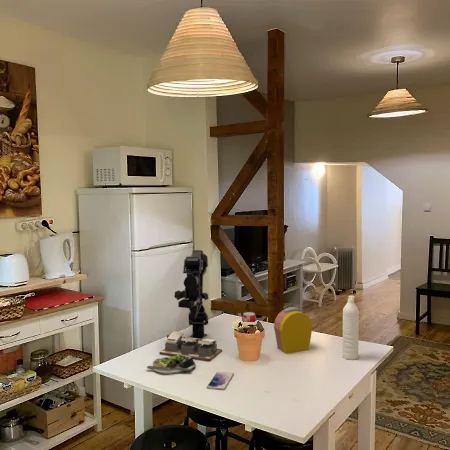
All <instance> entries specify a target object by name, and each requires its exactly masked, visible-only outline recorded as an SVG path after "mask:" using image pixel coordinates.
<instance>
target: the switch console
mask: <svg viewBox="0 0 450 450" xmlns="http://www.w3.org/2000/svg"><path fill="white" fill-rule="evenodd" d="M169 336H170V334H167V335H166V339H167V338H168V337H169ZM181 338H186V337H185V336H182V337H180V339H179V341H178V342H177V343H176V344H172V343H165V342H164V349H163V350H161V351H158V352H159V353H158V354H159V355H162V356H166V357H172V356H177V355H186V356H190V357H191V358H193V361H195V360H196V361H201V362H202V361H203V362H211V361H213V360H214V359H215V358H216V357H218V356H219V355H221V353H222V352H223V349H222V348H218V346H217V345H218V344H216V343H217V341H213V344H209V345H207V344H199V343H198V341H200V340H203V338H202V339H200V340H199V339H196V341H194V342H190V341H182V340H181Z"/></svg>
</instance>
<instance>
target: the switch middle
mask: <svg viewBox="0 0 450 450" xmlns="http://www.w3.org/2000/svg"><path fill="white" fill-rule="evenodd" d="M196 339H199V338H191V337H190V336H189V337H185V338H183V337H182V338H181V340H182V341H185V342H188V341H190V342H194V341H195V342H196ZM199 340H200V339H199Z"/></svg>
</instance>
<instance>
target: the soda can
mask: <svg viewBox="0 0 450 450" xmlns="http://www.w3.org/2000/svg"><path fill="white" fill-rule="evenodd" d="M257 320H258V319H257V316H256V313H255V312H253V311H248V312H247V311H245V312H243V313H242V316H241V322H242V321H243V322H255V321H257ZM257 322H258V321H257Z"/></svg>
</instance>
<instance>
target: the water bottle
mask: <svg viewBox="0 0 450 450" xmlns="http://www.w3.org/2000/svg"><path fill="white" fill-rule="evenodd" d="M355 298H356V297H355V296H354V295H348V298H347V302H346V304H345V305H344V307H343V309H342V352H341V353H342V358H343V359H345V360H352V361H353V360H358V359H359V337H360V336H359V332H360V331H359V330H360V329H359V325H360V323H359V322H360V321H359V320H360V319H359V316H360V315H359V314H360V311H359V308H358V306H357V305H356V303H355Z"/></svg>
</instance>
